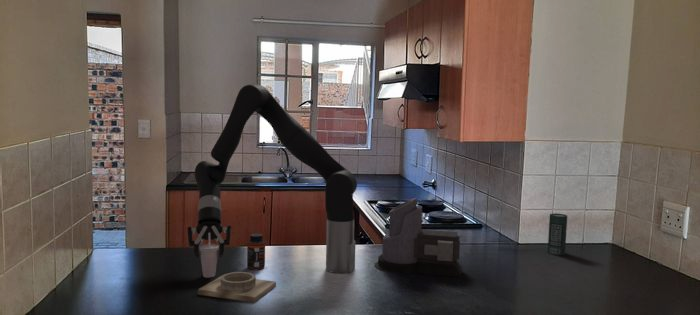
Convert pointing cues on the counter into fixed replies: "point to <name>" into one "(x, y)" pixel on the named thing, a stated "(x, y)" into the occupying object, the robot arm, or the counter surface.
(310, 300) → the counter surface
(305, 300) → the counter surface
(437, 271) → the juicer
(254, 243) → the supplement bottle
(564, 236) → the can
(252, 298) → the socket board
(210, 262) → the smoothie
